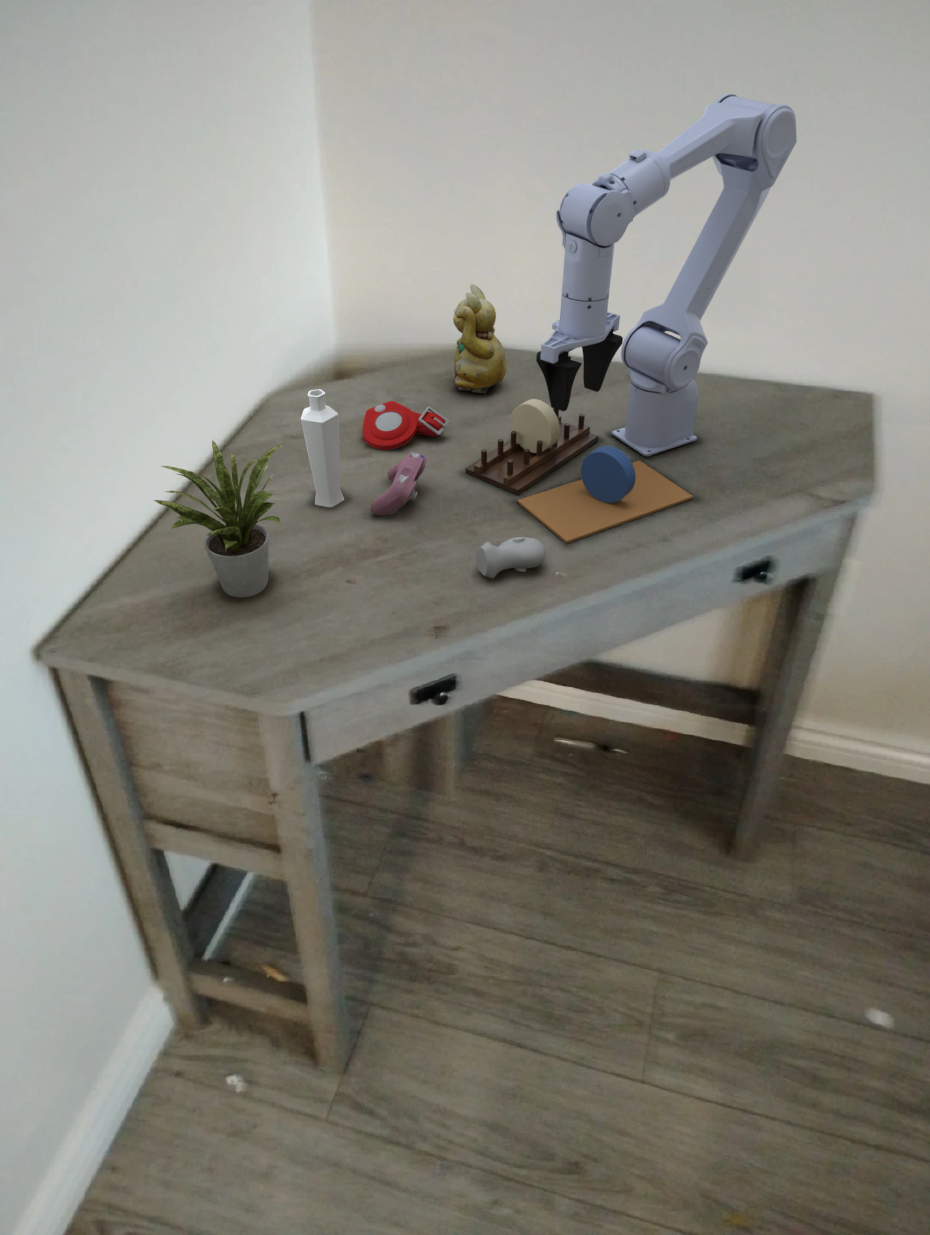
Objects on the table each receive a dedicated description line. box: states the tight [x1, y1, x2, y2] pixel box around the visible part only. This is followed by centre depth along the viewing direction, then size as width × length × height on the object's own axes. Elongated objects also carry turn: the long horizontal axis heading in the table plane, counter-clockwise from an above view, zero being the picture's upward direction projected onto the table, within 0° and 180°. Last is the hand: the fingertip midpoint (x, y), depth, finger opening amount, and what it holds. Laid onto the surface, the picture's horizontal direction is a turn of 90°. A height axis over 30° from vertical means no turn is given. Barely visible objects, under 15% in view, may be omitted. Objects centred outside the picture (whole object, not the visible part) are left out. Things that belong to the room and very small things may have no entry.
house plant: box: [152, 439, 285, 598], centre depth 103 cm, size 14×14×16 cm
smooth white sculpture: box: [475, 536, 546, 579], centre depth 108 cm, size 4×8×5 cm
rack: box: [464, 408, 599, 496], centre depth 129 cm, size 19×9×4 cm, turn 140°
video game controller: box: [369, 450, 429, 516], centre depth 120 cm, size 10×5×7 cm, turn 168°
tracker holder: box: [362, 400, 450, 451], centre depth 135 cm, size 12×4×10 cm
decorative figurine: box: [452, 283, 507, 394], centre depth 143 cm, size 10×8×15 cm
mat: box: [517, 460, 694, 544], centre depth 121 cm, size 20×11×1 cm, turn 120°
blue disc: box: [580, 445, 636, 503], centre depth 118 cm, size 2×7×7 cm, turn 50°
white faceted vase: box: [300, 388, 345, 508], centre depth 117 cm, size 5×4×15 cm
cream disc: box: [509, 398, 560, 453], centre depth 127 cm, size 2×7×7 cm, turn 50°
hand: (575, 398), depth 121 cm, fingers open, 7 cm apart
